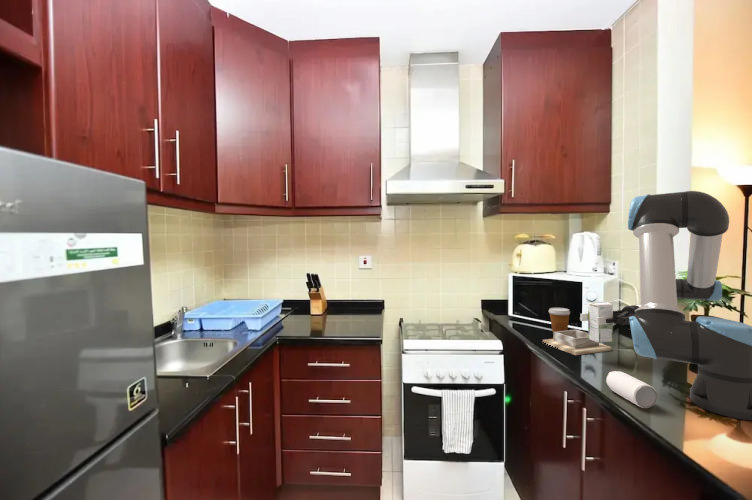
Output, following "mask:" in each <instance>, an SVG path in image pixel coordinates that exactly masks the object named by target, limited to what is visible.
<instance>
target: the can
mask: <svg viewBox="0 0 752 500" xmlns="http://www.w3.org/2000/svg"><path fill="white" fill-rule="evenodd" d="M605 383H606V385H607V386H608V388H609V389H610V390H611V391H613V392H614V393H616V394H617V395H619V396H621V397H622V398H624V399H625V400H627V401H629V402H631V403H632V404H635V405H636V406H637V407H639V408H642V409H648V408H649V409H650V408H652V407H653V406H655V404H656V403H657V400H658V392H657V391H656V389H655V388H654V386H652V385H650V384H648V383H646V382H644V381H642V380H640V379H638V378H637V377H634V376H631V375H630V374H628V373H625V372H623V371H618V370H612V371H610V372H608V374H607V375H606V378H605Z"/></svg>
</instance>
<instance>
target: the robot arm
mask: <svg viewBox="0 0 752 500" xmlns="http://www.w3.org/2000/svg"><path fill="white" fill-rule="evenodd" d="M628 210H629V211H628V217H627V218H628V220H627V221H628V222H627V229H628V230H629V231H632V234H633V236H634V237H636V238H637V239H638V244H639V245H638V246H639V252H638V253H639V287H640V288H639V291H640V295H639V296H640V304H633V305H626V306H624V307H622V309H619V310H618V309H617V310H613V316H606V317H597V325H605V324H613V325H614V324H615V325H618V324H619V325H620V326H625V325H629V326H630V331H631V338H632V343H633V350H634V352H635V354H637V355H638V356H640V357H645V358H651V359H654V360H664V361H673V362H679V363H686V364H693V365H697V374H696V376H695V378H694V381H693V384H692V385H691V388H690V390H689V399H690V401H691V402H692V404H694V405H695V406H697V407H699V408H701V409H703V410H705V411H709V412H711V413H714V414H717V415H721V416H725V417H729V418H733V419H738V420H745V421H752V325H749V324H748V323H744V322H741V321H737V320H732V319H727V318H723V317H714V316H703V315H699V316H697V317H696V319H695V321H694V320H693V321H691V320H686V315H685V313H684V312H683V311H681V310H680V309H679V308H678V299H681V300H682V299H683V300H696V301H697V300H698V301H719V300H721V299H722V297H723V285H722V282H721V281H720V280H718V279H716V278H717V272H718V266H719V265H718V264H719V260H720V259H719V258H720V253H721V247H722V240H723V235H724V234H725V233H726V232H727V231H728V230H729V227H730V226H729V224H730V216H729V212H728V210H727V208H725V206H724V204H722V202H720V201H719V200H718V199H717V198H716V197H714V196H712V195H710V194H708V193H706V192H702V191H697V190H686V191H679V192H670V193H669V192H668V193H657V194H649V193H648V194H646V195H638V196H635V197H633V198H632V199H631V202H630V206H629V209H628ZM680 229H687V231H688V232H689V233H690V236H689V248H688V249H689V250H688V259H687V260H688V261H687V273H686V278H683V279H682V278H681V279H680V278H676V275H677V274H676V262H675V261H676V260H675V247H674V246H675V245H674V237H675V236H677V235H678V234H679V233H680ZM579 314H580V317H579V320H580V321H581V322H588V312H586V313H579Z"/></svg>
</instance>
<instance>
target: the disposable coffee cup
mask: <svg viewBox="0 0 752 500" xmlns="http://www.w3.org/2000/svg"><path fill="white" fill-rule="evenodd" d="M548 313H549V317H550V324H551V330H552V333H553V332H557V331H566V330H568V329H569V322H570V321H569V320H570V314H571V310H570V309H568V308H565V307H550V308H549V309H548Z"/></svg>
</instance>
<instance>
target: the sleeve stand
mask: <svg viewBox="0 0 752 500" xmlns="http://www.w3.org/2000/svg"><path fill="white" fill-rule="evenodd" d="M552 333H553V337H552V338H548V339H546V338H545V339H542V343H543V342H544V343H546V344H545V345H547V344H548V345H547V346H549V345H551V346H550V347H552V346H553V347H552V348H555V347H556V348H555V349H557V348H558V350H560V351H564V352H566V353H569V354H571V355H573V356H580V355H588V354H595V353H596V354H597V353H603V352H610V351H611V352H612V346H610V345H606V344H604V343H598V342H595V341H593V340H590V339H588V332H586V331H582V330H578V329H576V328H575V329H569V330H566V331H557V332H553V331H552ZM544 343H543V344H544Z"/></svg>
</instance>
